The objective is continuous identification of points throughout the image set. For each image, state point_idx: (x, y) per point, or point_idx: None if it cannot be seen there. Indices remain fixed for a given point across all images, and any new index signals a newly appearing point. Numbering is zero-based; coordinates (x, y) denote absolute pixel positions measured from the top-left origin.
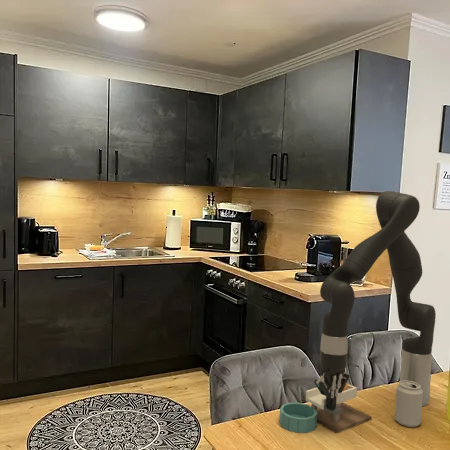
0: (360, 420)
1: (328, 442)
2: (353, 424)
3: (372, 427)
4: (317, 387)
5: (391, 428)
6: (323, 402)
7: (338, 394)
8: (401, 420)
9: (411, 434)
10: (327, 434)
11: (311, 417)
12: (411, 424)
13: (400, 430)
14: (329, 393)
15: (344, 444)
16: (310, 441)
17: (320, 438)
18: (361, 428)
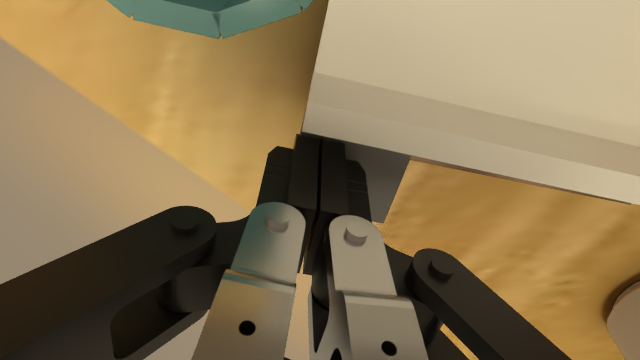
0: (532, 183)
1: (194, 142)
2: (465, 168)
3: (516, 223)
4: (3, 289)
5: (556, 276)
6: (305, 112)
7: (542, 182)
8: (623, 316)
9: (540, 331)
10: (265, 98)
11: (178, 25)
12: (611, 336)
13: (556, 301)
14: (190, 322)
15: (247, 200)
16: (109, 67)
17: (190, 92)
18: (470, 193)
